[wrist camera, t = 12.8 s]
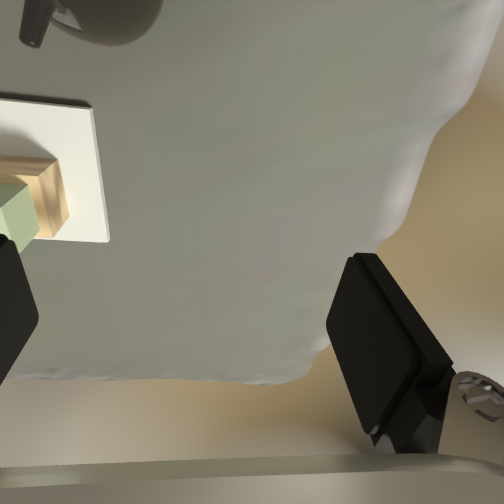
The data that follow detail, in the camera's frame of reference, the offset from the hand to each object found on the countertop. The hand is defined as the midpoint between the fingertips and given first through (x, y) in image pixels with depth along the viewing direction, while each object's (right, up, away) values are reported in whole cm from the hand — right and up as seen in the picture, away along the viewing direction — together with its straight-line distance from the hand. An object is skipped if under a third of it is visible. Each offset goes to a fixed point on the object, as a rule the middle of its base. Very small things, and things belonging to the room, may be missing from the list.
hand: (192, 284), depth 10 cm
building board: (-23, +10, +28) cm, 37 cm away
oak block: (-23, +8, +27) cm, 37 cm away
